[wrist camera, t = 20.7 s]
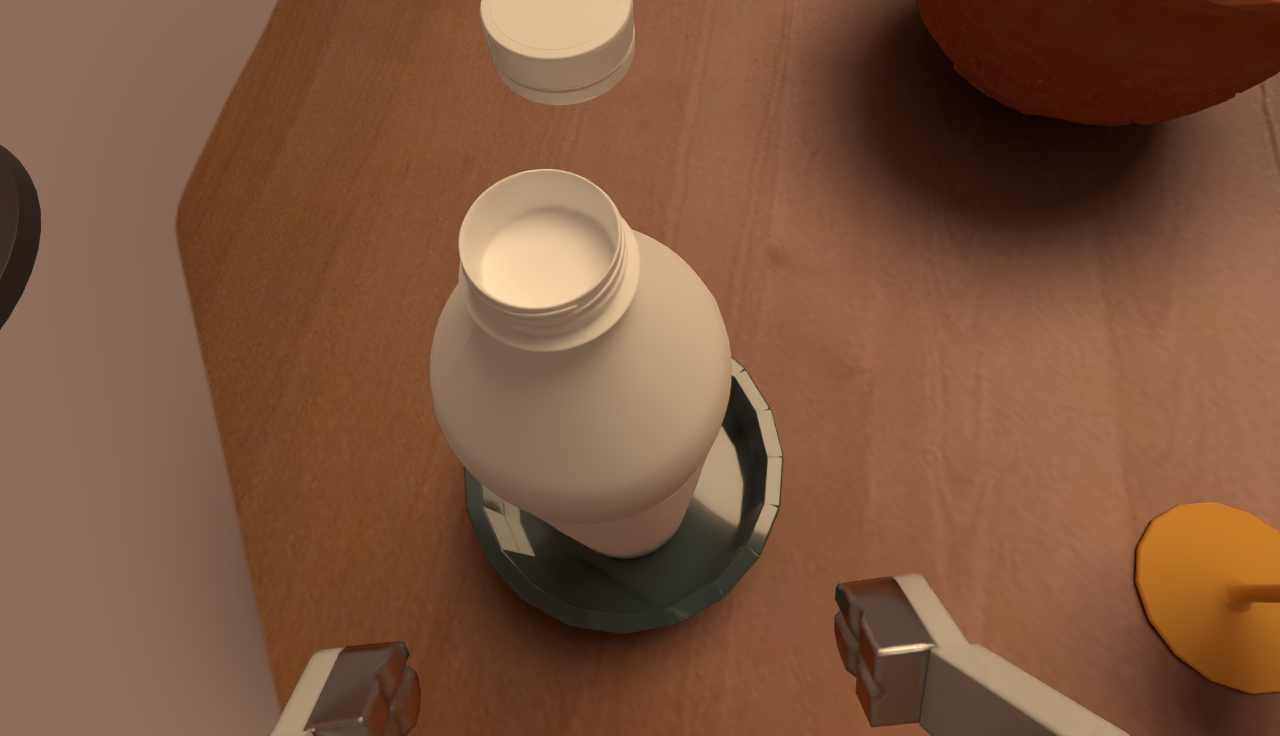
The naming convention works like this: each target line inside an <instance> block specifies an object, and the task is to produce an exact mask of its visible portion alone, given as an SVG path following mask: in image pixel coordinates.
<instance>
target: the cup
mask: <svg viewBox="0 0 1280 736" xmlns="http://www.w3.org/2000/svg"><path fill="white" fill-rule="evenodd" d="M1135 583H1136V586H1137V589H1138V591H1139V594H1140V597H1141V600H1142V603H1143V606H1144V609H1145V612H1146V614H1147V617H1148V620H1149V621H1150V623H1151V624H1152V625H1153V627H1154V628H1155V629H1156V631H1157V632H1158V633H1159V634H1160V636H1161V637H1162V638H1163V640H1164V641H1165V642H1166V644H1167V645H1168V646H1169V648H1170V649H1171V650H1172V652H1173V653H1174V654H1175V655H1176V656H1177V657H1179V658H1180V659H1181V660H1183V661H1184V662H1185V663H1187V664H1188V665H1190V666H1191V667H1192V668H1194V669H1195V670H1196V671H1198V672H1199V673H1200V674H1202V675H1203V676H1205V677H1206V678H1207V679H1209V680H1210V681H1213V682H1216V683H1219V684H1222V685H1225V686H1228V687H1231V688H1234V689H1237V690H1240V691H1244V692H1247V693H1250V694H1259V693H1271V692H1280V532H1278V531H1277V530H1275V529H1273V528H1272V527H1270V526H1269V525H1267V524H1266V523H1264V522H1263V521H1261V520H1260V519H1258V518H1257V517H1255V516H1254V515H1252V514H1251V513H1249V512H1246V511H1242V510H1239V509H1235V508H1232V507H1229V506H1225V505H1222V504H1218V503H1215V502H1206V503H1194V504H1182V505H1177V506H1175V507H1173V508H1172V509H1170V510H1168V511H1167V512H1165V513H1163V514H1162V515H1160V516H1158V517H1157V518H1155V519H1154V520H1152V521H1151V523H1150V524H1149V526H1148V528H1147V530H1146V532H1145V533H1144V535H1143V537H1142V539H1141V541H1140V542H1139V544H1138V546H1137V551H1136V575H1135Z"/></svg>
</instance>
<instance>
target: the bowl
mask: <svg viewBox="0 0 1280 736" xmlns="http://www.w3.org/2000/svg"><path fill="white" fill-rule="evenodd" d="M916 4H917V7H918V9H919V11H920V14H921V16H922V19H923V22H924V24H925V25H926V27H927V29H928V30H929V32H930V34H931V35H932V37H933V38H934V39H935V40H936V42H937V43H938V44H939V46H940V48H941V50H942V51H943V52H944V53H945V54H946V55H947V56H948V57H949V58H950V60H951V61H952V62H953V69H954V70H956V71H957V72H958V73H959V74H960V75H961V76H962V77H963V78H965V79H966V80H967V81H968V82H969V83H971V84H972V85H973V86H974V87H975V88H977V89H978V90H979V91H981V92H982V93H983V94H985V95H986V96H988V97H991V98H993V99H995V100H997V101H998V102H1000V103H1001V104H1003V105H1005V106H1007V107H1010V108H1013V109H1015V110H1018V111H1020V112H1022V113H1024V114H1026V115H1033V114H1034V115H1040V116H1046V117H1051V118H1057V119H1063V120H1068V121H1070V122H1072V123H1080V124H1089V125H1109V126H1120V125H1128V124H1131V123H1133V122H1134V123H1137V124H1142V125H1148V124H1155V123H1161V122H1165V121H1169V120H1172V119H1176V118H1179V117H1182V116H1185V115H1189V114H1192V113H1195V112H1198V111H1201V110H1203V109H1206V108H1209V107H1211V106H1214V105H1217V104H1220V103H1222V102H1225V101H1227V100H1229V99H1231V98H1233V97H1235V94H1236V93H1242V92H1244V91H1246V90H1247V89H1249V88H1251V87H1253V86H1255V85H1257V84H1259V83H1261V82H1263V81H1265V80H1266V79H1268V78H1270V77H1272V76H1274V75H1275V74H1277V73H1279V72H1280V0H916Z"/></svg>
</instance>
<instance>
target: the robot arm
mask: <svg viewBox="0 0 1280 736" xmlns="http://www.w3.org/2000/svg"><path fill="white" fill-rule="evenodd" d="M835 600H836V602H837V604H838V606H839V608H840V611H839V612H838V613H837V614H836V615H835V617H834V631H835V637H836V642H837V647H838V650H839V653H840V656H841V659H842V661H843V664H844V666H845V669H846V670H847V671H848V672H849V673H851V674H852V675H853V676H855V677H856V694H857V696H858V699H859V701H860V703H861V705H862V708H863V710H864V712H865V715H866V717H867V719H868V721H869V724H870V726H871V727H880V726H889V725H899V724H909V723H919V722H920V726H921V727H922V728H923V729H925V730H926V731H927V732H928V733H929V734H930V735H931V736H1130V735H1129V734H1127V733H1126V732H1124V731H1122V730H1121V729H1119V728H1117V727H1116V726H1114V725H1112V724H1111V723H1109V722H1107V721H1106V720H1104V719H1103V718H1101V717H1099V716H1098V715H1096V714H1094V713H1093V712H1091V711H1089V710H1088V709H1086V708H1084V707H1083V706H1081V705H1079V704H1078V703H1076V702H1074V701H1073V700H1071V699H1069V698H1068V697H1066V696H1064V695H1063V694H1061V693H1059V692H1058V691H1056V690H1054V689H1053V688H1051V687H1050V686H1048V685H1046V684H1045V683H1043V682H1041V681H1040V680H1038V679H1036V678H1035V677H1033V676H1031V675H1030V674H1028V673H1026V672H1025V671H1023V670H1021V669H1020V668H1018V667H1016V666H1015V665H1013V664H1011V663H1010V662H1008V661H1006V660H1005V659H1003V658H1001V657H1000V656H998V655H997V654H995V653H993V652H992V651H990V650H988V649H987V648H985V647H983V646H982V645H980V644H978V643H975V644H969V643H968V641H967V640H966V638H965V637H964V635H963V634H962V632H961V631H960V629H959V628H958V627H957V625H956V624H955V622H954V621H953V619H952V618H951V616H950V615H949V614H948V612H947V611H946V609H945V608H944V606H943V605H942V603H941V602H940V600H939V599H938V598H937V596H936V595H935V593H934V592H933V590H932V589H931V587H930V586H929V584H928V583H927V582H926V580H925V579H924V577H923V576H922V575H920V574H919V573H913V574H905V575H898V576H891V577H882V578H875V579H868V580H861V581H854V582H846V583H839V584H838V585H837V587H836V594H835ZM408 657H409V652H408V650H407V648H406V646H405V643H404V642H401V641H395V642H385V643H375V644H365V645H356V646H346V647H340V648H331V649H322V650H318V651H317V652H316V653H315V654H314V655H313V656H312V657H311V658H310V660H309V662H308V664H307V666H306V668H305V670H304V672H303V674H302V675H301V677H300V679H299V681H298V683H297V685H296V687H295V689H294V691H293V693H292V695H291V697H290V699H289V701H288V702H287V704H286V706H285V708H284V710H283V712H282V714H281V716H280V718H279V720H278V722H277V724H276V726H275V728H274V730H273V731H272V733H271V735H270V736H407V735H408V734H409V733H410V732H411V730H412V729H413V728H414V727H415V725H416V722H417V718H418V714H419V711H420V698H421V690H420V682H419V678H418V676H417V673H416V671H415V670H413V669H412V668H410V667H409V666H407V665H406V663H407V660H408Z"/></svg>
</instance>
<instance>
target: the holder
mask: <svg viewBox="0 0 1280 736" xmlns="http://www.w3.org/2000/svg"><path fill="white" fill-rule="evenodd" d="M731 362H732V379H731V389H730V396H729V401H728V406H727V410H726V413H725V416H724V419H723V422H722V425H721V428H720V430H719V433H718V435H717V437H716V439H715V441H714V443H713V445H712V447H711V449H710V451H709V453H708V456H707V458H706V461H705V463H704V466H703V468H702V471H701V474H700V478H699V481H698V483H697V486H696V488H695V491H694V493H693V495H692V498H691V500H690V503H689V505H688V508H687V510H686V513H685V516H684V518H683V520H682V523H681V525H680V526H679V528H678V530H677V531H676V533H675V534H674V535H673V537H672V538H671V539H670V540H669V541H668V542H667V543H666V544H664V545H663V546H662V547H660V548H659V549H657V550H656V551H654V552H652V553H650V554H648V555H645V556H642V557H638V558H631V559H619V558H612V557H608V556H605V555H602V554H600V553H598V552H596V551H594V550H592V549H590V548H589V547H587V546H586V545H584V544H582V543H580V542H578V541H576V540H575V539H573V538H571V537H569V536H567V535H566V534H564V533H562V532H560V531H559V530H557V529H556V528H554V527H553V526H552V525H550V524H548V523H547V522H545V521H543V520H541V519H540V518H538V517H536V516H534V515H533V514H531V513H529V512H526V511H524V510H522V509H520V508H518V507H516V506H514V505H512V504H510V503H508V502H506V501H505V500H503V499H502V498H500V497H498V496H497V495H495V494H494V493H493V492H491V491H490V490H489V489H487V488H486V487H485V486H484V485H482V484H481V483H480V482H479V481H478V480H477V479H476V478H475V477H474V476H473V475H472V474H471V473H470V472H469V471H468V470H467V469H466V468H465V466H464V474H465V489H466V503H467V512H468V516H469V518H470V520H471V523H472V525H473V528H474V530H475V533H476V535H477V537H478V540H479V542H480V545H481V547H482V550H483V552H484V554H485V557H486V559H488V562H489V563H490V564H491V565H492V566H493V568H494V569H495V570H496V571H497V572H498V573H499V574H500V575H501V577H502V578H503V579H504V580H505V581H506V582H507V583H508V585H509V586H510V587H511V588H512V589H513V590H514V591H515V592H516V594H517V595H518V596H519V597H520V598H521V599H523V600H524V601H525V602H527V603H529V604H531V605H533V606H535V607H536V608H538V609H540V610H542V611H544V612H545V613H547V614H549V615H551V616H553V617H554V618H556V619H558V620H560V621H562V622H563V623H565V624H567V625H569V624H570V626H574V627H580V628H587V629H593V630H599V631H605V632H611V633H617V634H623V633H624V634H628V633H633V632H639V631H644V630H650V629H655V628H661V627H666V626H671V625H676V624H679V623H681V622H683V621H684V620H686V619H688V618H690V617H691V616H693V615H695V614H696V613H698V612H700V611H702V610H703V609H705V608H707V607H709V606H710V605H712V604H714V603H716V602H717V601H719V600H721V599H723V598H724V596H726V595H727V594H728V593H729V592H730V591H731V589H732V588H733V587H734V586H735V585H736V584H737V583H738V581H739V580H740V579H741V578H742V577H743V576H744V575H745V573H746V572H747V571H748V570H749V569H750V568H751V566H752V565H753V564H754V563H755V562H756V561H757V560H758V558H759V556H760V555H761V553H762V551H763V548H764V546H765V543H766V541H767V539H768V536H769V534H770V531H771V529H772V526H773V524H774V521H775V519H776V516H777V514H778V512H779V507H780V502H781V486H782V471H783V453H782V449H781V445H780V441H779V437H778V433H777V429H776V426H775V422H774V418H773V414H772V410H771V409H770V407H769V405H768V404H767V402H766V400H765V399H764V397H763V396H762V394H761V392H760V391H759V389H758V388H757V386H756V385H755V383H754V381H753V380H752V378H751V377H750V375H749V373H748V372H747V370H745V368H744V367H743V366H742V365H741V364H740V363H738V362H737V361H736V360H735V359H734V358H733V357H731Z"/></svg>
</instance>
